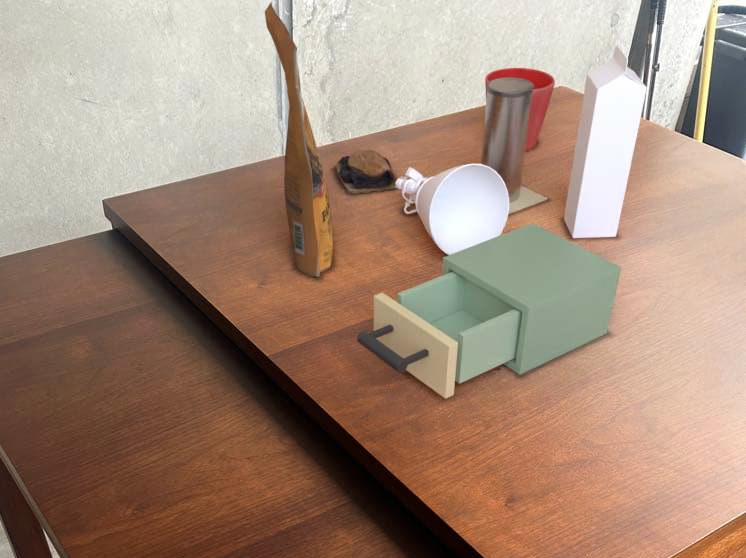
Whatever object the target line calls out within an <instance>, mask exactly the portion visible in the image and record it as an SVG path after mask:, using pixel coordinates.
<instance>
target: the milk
mask: <svg viewBox="0 0 746 558" xmlns="http://www.w3.org/2000/svg"><path fill="white" fill-rule="evenodd" d="M628 63H629V58H628V56H626V54H625V53H624V51H622V49H621V48H620V46H618V44H615V46H614V51H613V56H612V57H611V58H609V59H608V60H607V61H605V62H604V63H602V64H600V65H599V66H596V67H595V68H594V69H592V70H591V71H589V72H588V73H586V79H585V85H584V91H583V98H582V102H581V110H580V115H579V123H578V129H577V133H576V134H577V135H576V141H575V147H574V151H573V152H574V154H573V160H572V165H571V171H570V178H569V185H568V189H567V190H568V191H567V197H566V203H565V207H564V208H565V209H564V215H563V220H564V223H565V224H566V227H567V229H568V231H569V233H570V236H571V238H572V239H592V238H593V239H594V238H615V237H617V234H618V229H619V225H620V220H621V215H622V210H623V206H624V205H623V204H624V200H625V196H626V192H627V191H626V190H627V186H628V181H629V176H630V172H631V166H632V161H633V156H634V152H635V147H636V142H637V139H638V133H639V128H640V123H641V119H642V114H643V108H644V105H645V100H646V94H647V89H648V88H647V86H646V85H645V83H644V82H643V81H642V79H641V77H639V76H638V74H637V73H636V72H635V71H634V70H633V69H632V68H631V67H629V66H628Z"/></svg>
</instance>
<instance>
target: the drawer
mask: <svg viewBox="0 0 746 558" xmlns="http://www.w3.org/2000/svg"><path fill="white" fill-rule="evenodd" d="M521 319H522V311H520V310H519V309H517V308H515V307H514V306H512V305H510V304H509V303H507V302H505V301H503V300H502V299H500V298H498V297H497V296H495V295H493V294H492V293H490V292H488V291H487V290H485V289H483V288H481V287H480V286H478V285H476V284H475V283H473V282H471V281H470V280H468V279H466V278H465V277H463V276H461V275H459V274H458V273H456V272H454V271H453V272H450V273H447V274H445V275H442V274H441V275H440V276H437V277H435V278H432V279H430V280H428V281H425V282H422V283H420V284H418V285H414V286H412V287H409V288H407V289H404V290H402V291H400V292H397V293H396V300H394V299H393V298H392V297H390V296H388V295H387V294H385V293H384V292H380V293H377V294H375V295H373V331H371V332H368V331H366V330H362V331H360V332H359V333H358V334H357V338H356V341H357V343H358V344H360V345H361V346H363V347H364V348H365V349H367V350H368V351H369V352H371V353H372V354H373V355H374V356H375V357H377V358H379V359H380V360H382V361H383V362H384V363H385V364H387V365H388V366H390V367H391V368H393V369H394V371H396V372H398V373H403V372H405V371H407V372H408V373H410V374H411V375H412V376H414V377H415V378H416V379H418V380H419V381H420V382H422V383H423V384H425V385H426V386H427V387H429V388H430V389H431V390H433V391H434V392H436V393H437V394H438V395H439V396H441V397H442V398H444V399H445V400H446V399H449V398H450V397H452V396H454V395H455V385H456V383H458V384H459V385H460V384H462V383H465V382H466V381H469V380H471V379H473V378H475V377H478V376H479V375H481V374H484V373H486V372H488V371H490V370H492V369H495V368H497V367H499V366H502V365H504V364H503V363H505V362H507V361H510V360H512V359H514V358H516V356H517V349H518V341H519V334H520V327H521Z"/></svg>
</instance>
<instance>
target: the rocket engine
mask: <svg viewBox="0 0 746 558" xmlns="http://www.w3.org/2000/svg"><path fill="white" fill-rule="evenodd" d="M404 175H405V176H403V175H401V176H400V177H398V178H397V179H396V180H395V183H396V185H397V187H396V189H399V190H401V195H402V196H401V197H402V198H403V199H404V200H405V202H404V207H403V211H404V213H405V214H406V215H410V214H414V213H417V215H418V217H419V218H420V220H421V223H422V224H423V227H424V229H425V231H426V232H427V234H428V235H429V237H430V239H432V242H434V244H435V245H436V246H437V247H438V248H439V249H440V250H441V252H443V253H444V254H446V255H447V256H448V255H451V254H453V253H456V252H459V251H461V250H464V249H466V248H469V247H472V246H474V245H477V244H479V243H482V242H485V241H487V240H490V239H492V238H495V237H497V236H500V235H502V233H503V231H504V229H505V226H506V224H507V222H508V217H509V214H508V212H509V196H508V191H507V188H506V185H505V183H504V181H503V179H502V178H501V176H500V175H499V174H498V173H497V172H496V171H495V170H493V169H492V168H490V167H489V166H486V165H483V164H481V163H467V164H462V165H457V166H454V167H451V168H449V169H446V170H444V171H442V172H440V173H437V174H436V175H434V176H430V177H424V176H423V175H422V174H421V173H420V172H419V171H418V170H416V169H415V168H413V167H411V166H409V167H408V169H407V171H406V172H405V174H404ZM408 178H409V179H408ZM405 194H407V195H409V198H407V197H406V196H405ZM411 204H415V209H412V210H410V211H408V210H407V209H408V208H410V207H411Z"/></svg>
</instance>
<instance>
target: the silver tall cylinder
mask: <svg viewBox="0 0 746 558" xmlns="http://www.w3.org/2000/svg"><path fill="white" fill-rule="evenodd" d="M533 88H534V85H533V83H532V82H530V81H528V80H525V79H521V78H513V77H506V78H498V79H494V80H491V81H490V82H488V84H487V99H486V98H485V111H484V123H483V135H482V145H481V146H482V147H481V159H480V164H483V165H486V166H489V167H490V168H492V169H493V170H495V171H496V172H497V173H498V174H499V175H500V176H501V178H502V179H503V181H504V183H505V185H506V188H507V191H508V196H509V203H511V202H514V201H516V200H517V199H518V198H519V196H520V189H521V186H522V180H523V172H524V163H525V156H526V150H525V148H526V139H527V131H528V123H529V115H530V106H531V98H532V92H533Z"/></svg>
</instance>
